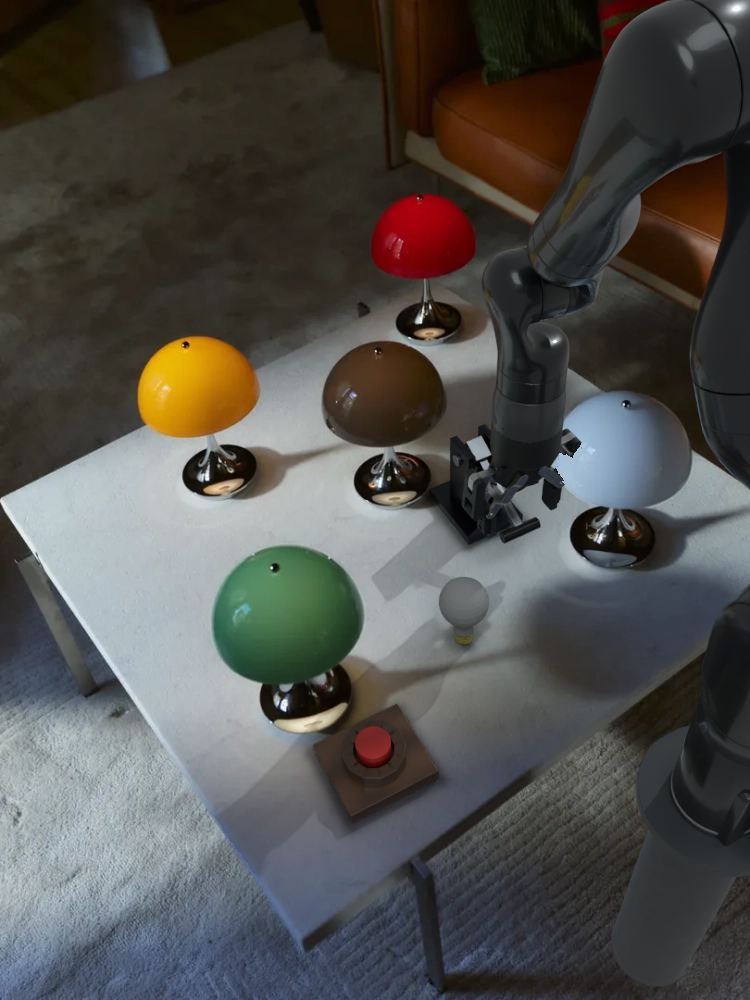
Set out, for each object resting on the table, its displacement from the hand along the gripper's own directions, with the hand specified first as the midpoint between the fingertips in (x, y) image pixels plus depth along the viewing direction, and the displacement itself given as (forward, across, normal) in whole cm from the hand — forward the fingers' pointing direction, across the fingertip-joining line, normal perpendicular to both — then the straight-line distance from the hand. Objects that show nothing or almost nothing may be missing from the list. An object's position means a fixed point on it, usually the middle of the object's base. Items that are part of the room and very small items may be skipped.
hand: (518, 518), depth 111 cm
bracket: (+8, 0, +10) cm, 12 cm away
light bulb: (+8, -12, -7) cm, 16 cm away
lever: (+1, 0, +6) cm, 6 cm away
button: (+4, -28, -16) cm, 32 cm away
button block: (+7, -28, -16) cm, 33 cm away
